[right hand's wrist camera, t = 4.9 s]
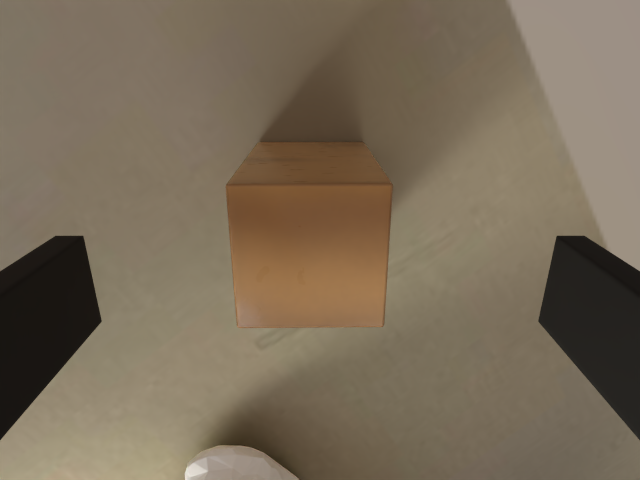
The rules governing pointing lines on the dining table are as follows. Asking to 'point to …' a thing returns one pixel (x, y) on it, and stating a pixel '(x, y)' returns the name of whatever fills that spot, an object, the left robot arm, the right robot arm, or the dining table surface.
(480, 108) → the dining table surface
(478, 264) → the dining table surface
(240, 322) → the block
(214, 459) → the skull
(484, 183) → the dining table surface
